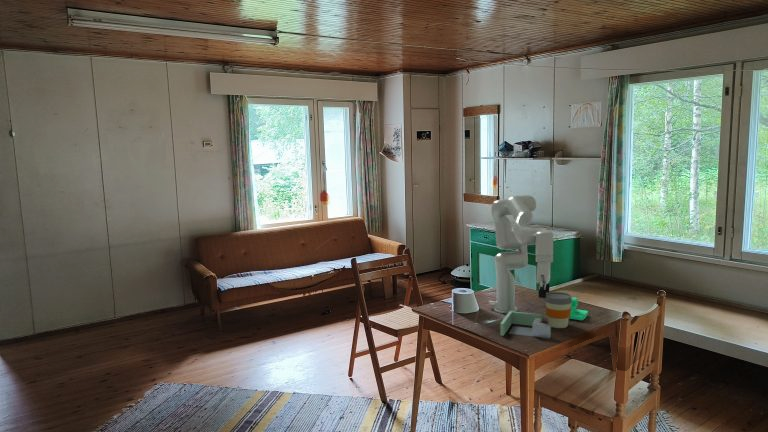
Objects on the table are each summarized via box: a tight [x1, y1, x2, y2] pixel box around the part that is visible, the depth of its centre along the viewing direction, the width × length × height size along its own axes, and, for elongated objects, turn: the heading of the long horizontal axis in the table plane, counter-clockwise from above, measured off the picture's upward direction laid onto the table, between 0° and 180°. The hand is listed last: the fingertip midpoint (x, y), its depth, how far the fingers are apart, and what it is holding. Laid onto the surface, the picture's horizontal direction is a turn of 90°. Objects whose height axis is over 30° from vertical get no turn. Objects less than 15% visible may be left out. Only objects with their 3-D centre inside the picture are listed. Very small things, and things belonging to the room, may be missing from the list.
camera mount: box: [569, 297, 589, 321], centre depth 270 cm, size 12×8×10 cm, turn 145°
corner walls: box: [499, 311, 543, 337], centre depth 253 cm, size 16×20×6 cm
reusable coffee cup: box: [544, 291, 573, 329], centre depth 259 cm, size 13×12×15 cm
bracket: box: [531, 318, 552, 339], centre depth 248 cm, size 8×8×6 cm
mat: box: [508, 325, 535, 338], centre depth 253 cm, size 12×11×1 cm
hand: (544, 294), depth 242 cm, fingers open, 9 cm apart
